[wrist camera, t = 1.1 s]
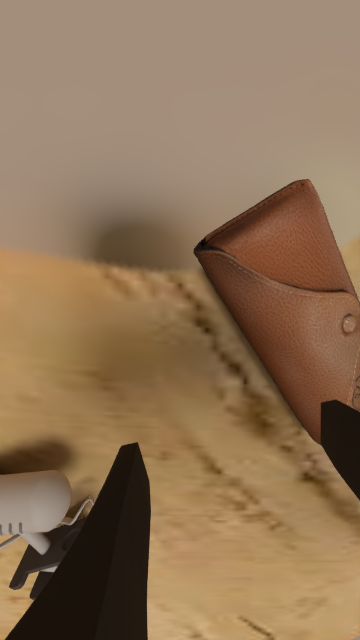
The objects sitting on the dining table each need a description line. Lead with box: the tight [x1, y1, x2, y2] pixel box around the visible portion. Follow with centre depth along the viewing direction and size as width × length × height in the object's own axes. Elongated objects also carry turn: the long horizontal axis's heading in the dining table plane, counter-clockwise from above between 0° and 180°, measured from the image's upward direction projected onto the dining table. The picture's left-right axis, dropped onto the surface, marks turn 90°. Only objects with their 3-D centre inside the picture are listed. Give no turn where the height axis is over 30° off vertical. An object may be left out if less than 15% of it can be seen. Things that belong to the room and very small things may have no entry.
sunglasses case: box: [194, 179, 360, 445], centre depth 19 cm, size 18×7×7 cm
